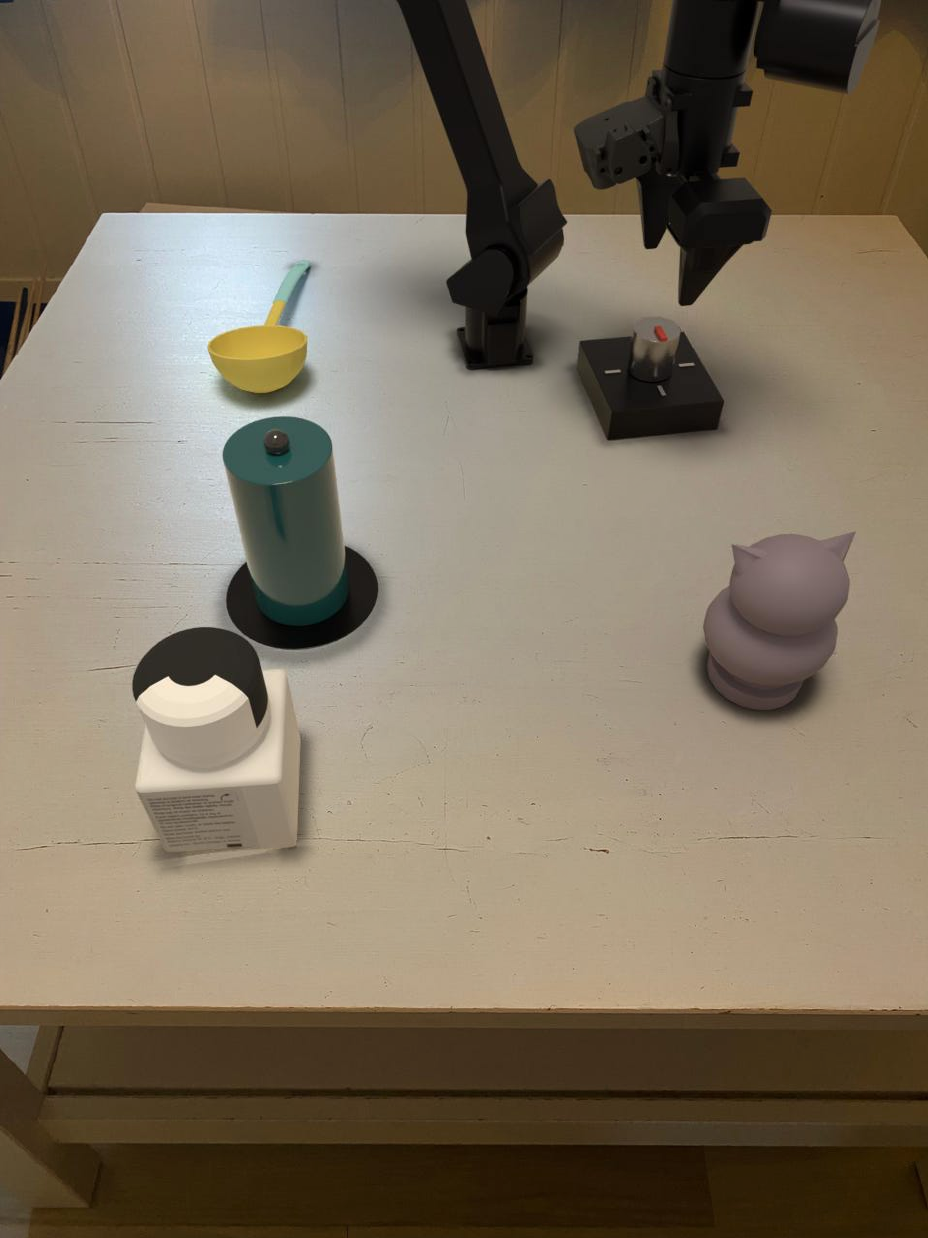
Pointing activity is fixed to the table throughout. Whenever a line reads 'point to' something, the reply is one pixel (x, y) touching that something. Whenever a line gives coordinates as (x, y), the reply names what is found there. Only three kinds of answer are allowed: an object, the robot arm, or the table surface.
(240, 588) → the disc
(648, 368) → the knob
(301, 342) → the ladle
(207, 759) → the container
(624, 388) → the panel
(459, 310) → the table surface
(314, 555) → the teal lidded canister
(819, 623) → the cat figurine
